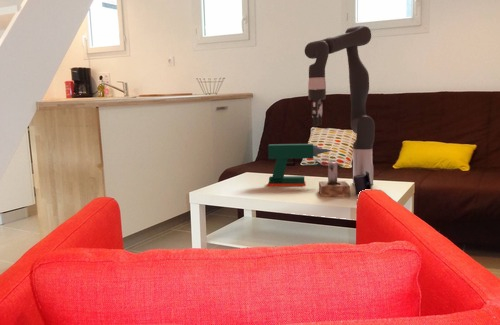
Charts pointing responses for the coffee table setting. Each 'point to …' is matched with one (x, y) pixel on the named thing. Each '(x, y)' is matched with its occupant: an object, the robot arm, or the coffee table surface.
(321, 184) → the block
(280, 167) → the power tool
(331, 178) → the grey upright block
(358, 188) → the speaker
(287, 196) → the coffee table surface
